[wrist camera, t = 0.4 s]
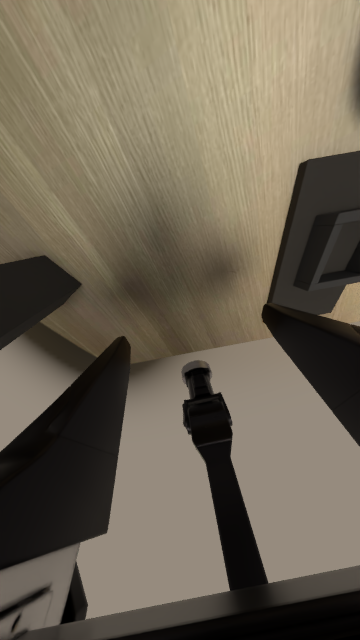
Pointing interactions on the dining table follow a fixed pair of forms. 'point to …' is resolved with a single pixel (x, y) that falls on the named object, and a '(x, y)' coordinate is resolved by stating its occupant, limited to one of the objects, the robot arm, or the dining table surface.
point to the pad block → (30, 294)
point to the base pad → (320, 236)
